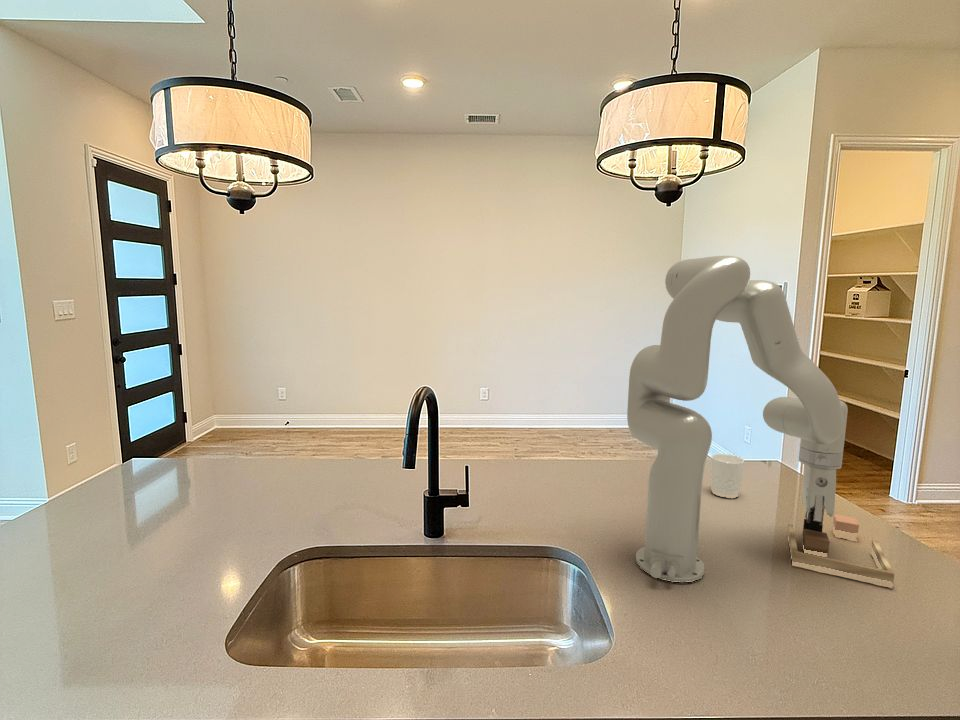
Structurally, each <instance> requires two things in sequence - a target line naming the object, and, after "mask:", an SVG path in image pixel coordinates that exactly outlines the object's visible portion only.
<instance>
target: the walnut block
mask: <svg viewBox="0 0 960 720" xmlns="http://www.w3.org/2000/svg"><path fill="white" fill-rule="evenodd" d="M802 541H803V545H804V549H806V550H811V551H817V552H823V553H828V554H829V549H830V538H829V535H828V534H827V532H823V531H822V532H818V531H813V530H808V529H804V531H803V530H802Z"/></svg>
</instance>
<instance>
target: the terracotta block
mask: <svg viewBox="0 0 960 720" xmlns="http://www.w3.org/2000/svg"><path fill="white" fill-rule="evenodd" d="M833 524H834V527H835V530H841V531H845V532H850V533H858V534H859V527H860V525H859V522H858V520H857V518H856V517H851V516H846V515H841V514H835V513H834V516H833V521H832V525H833Z"/></svg>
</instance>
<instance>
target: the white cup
mask: <svg viewBox="0 0 960 720" xmlns="http://www.w3.org/2000/svg"><path fill="white" fill-rule="evenodd" d="M710 457H711V458H710V486H711V489H712V490H713V491H714V492H717V493H720V494H725V495H735V494H738V493H739V494H740V490H741V486H742V480H743V473H744V465H745V460H744V459H743V458H742V457H740V456H737V455H733V454H726V453H714V454H712V455H711V456H710ZM711 489H710V490H711Z"/></svg>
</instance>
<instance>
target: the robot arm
mask: <svg viewBox="0 0 960 720" xmlns="http://www.w3.org/2000/svg"><path fill="white" fill-rule="evenodd" d="M750 278H751V269H750V265H749V263H748V262H747V261H746V260H745V259H743V258H741V257H739V256H735V255H715V256H705V257H699V258H698V257H697V258H688V259H683V260H680V261H677V262H676V263H674V264H673V265H672V266H670V268H669V269H668V270H667V272H666V275H665V279H664V280H665V288H666V291H667V292H668V295H669V296H670V297H671V298H672V299H673V300H671V302H670V304H669V306H668V308H667V310H666V312H665V314H664V317H663V322H662V327H661V328H662V330H661V336H660V344H654V345H649V346H646V347H644V348H642V349H640V350H639V351H638V352H637V354H636V355H635V356H634V358H633V360H632V363H631V366H630V370H629V375H628V376H629V378H628V393H627V410H626V411H627V414H626V416H627V417H626V418H627V426H628V427H627V428H628V430H629V431H630V433H631V435H632V436H633V437H634V438H635V439H636V440H637V441H639V442H641V443H643V444H645V445H647V446H649V447H651V448H653V449H654V450H656V451H657V455H656V457H655V460H654V461H653V463H652V465H651V467H650V470H649V473H648V483H647V486H648V487H647V488H648V489H647V499H646V501H647V502H646V503H647V504H646V515H645V518H646V519H645V532H644V533H645V535H644V546H643V547H640V548H639V549H638V550H637V551H636V553H635V563H636V562H637V563H636V565H637V564H638V565H639V566H640V567H641V568H642V569H643V570H644V571H646V572H648V573H649V574H651V577H652V578H655V579H657V578H661V579H666V580H670V581H678V582H679V581H680V582H686V581H693V580H697V579H699V578H701V577H702V576H703V575H705V571H706V569H705V564H704V562H703V561H702V560H701V559H700V558H699V557H698V556H697V554H698V545H699V544H698V543H699V530H700V519H701V507H702V506H701V504H702V493H703V492H702V488H703V481H704V480H703V478H704V472H705V466H706V461H707V458H708V454H709V452H710V448H711V445H712V440H713V439H712V438H713V433H712V429H711V425H710V424H709V422H708V420H707V419H706V418H705V417H704V416H703V415H702V414H701V413H699V412H697V411H695V410H694V409H691V408H689V407H685V406H682V405H679V404H676V403H672V402H670V401H671V399H673V400H677V401H678V400H679V401H683V402H689V401H695V400H697V399H698V398H700V397H702V395H703V394H704V393H705V391H706V388H707V385H708V378H709V366H710V355H711V341H712V335H713V334H712V333H713V328H714V325H715V323H716V321H720V322H725V323H739V325H740V327H741V330H742V333H743V335H744V339H745V341H746V345H747V347H748V351H749V355H750V358H751V360H752V362H753V364H754V365H755V367H757V368H759V369H760V370H761V371H762V372H764V373H765V374H766V375H769V376H770V378H771V377H772V378H773V379H774V380H777V382H779V383H781V384H783V385H784V386H786V388H788V389H789V390H790V391H791V392H792V393H793V394H795V396H796V397H790V396H781V397H780V396H779V397H776V398H773V399H771V400H770V401H768V402H767V403H766V404H765V406H764V407H763V410H762V418H763V421H764V423H765V424H766V425H767V427H769V428H770V429H771V430H773V431H776V432H779V433H780V434H784V435H788V436H791V437H795V438H798V439H800V443H799V449H798V450H799V451H798V453H799V454H798V462H799V463H801V464H803V474H802V484H801V485H802V486H801V492H802V493H801V498H802V503H803V506H804V509H805V514H804V519H803V526H802V532H803V531H804V529H808V530H813V531H818V532H823V528H824V527H823V526H824V524H823V522H824V516H825V512H826V515H828V516H829V517H834V514H835V507H836V490H837V489H836V488H837V470H840V469H842V465H843V456H844V447H845V441H846V440H845V439H846V430H847V420H848V413H849V412H848V411H849V409H848V404H846V402H844V401H842V400H841V399H840V398H839V394H838V392H837V389H836V388H835V386H834V384H833V382H832V381H831V380H830V378H829V377H828V376H827V374H825V372H823V371H822V370H821V368H819V366H818V365H817V364H816V363H815V362H814V361H813V360H812V359H811V358H810V357H809V356H807V354H805V353H804V351H803V349H801V346H800V343H799V339H798V336H797V332H796V329H795V325H794V322H793V319H792V316H791V312H790V309H789V306H788V302H787V298H786V296H785V293H784V291H783V289H782V287H780V285H779V284H777V283H776V282H773V281H770V280H765V279H764V280H762V279H760V280H759V279H758V280H757V279H754V280H753V279H752V280H751V279H750ZM638 565H637V566H638ZM639 566H638V567H639ZM640 567H639V568H640ZM641 568H640V569H641ZM642 569H641V570H642ZM643 570H642V571H643ZM644 571H643V572H644ZM649 574H648V575H649ZM703 577H704V576H703ZM703 577H702V578H703ZM702 578H701V579H702Z"/></svg>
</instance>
